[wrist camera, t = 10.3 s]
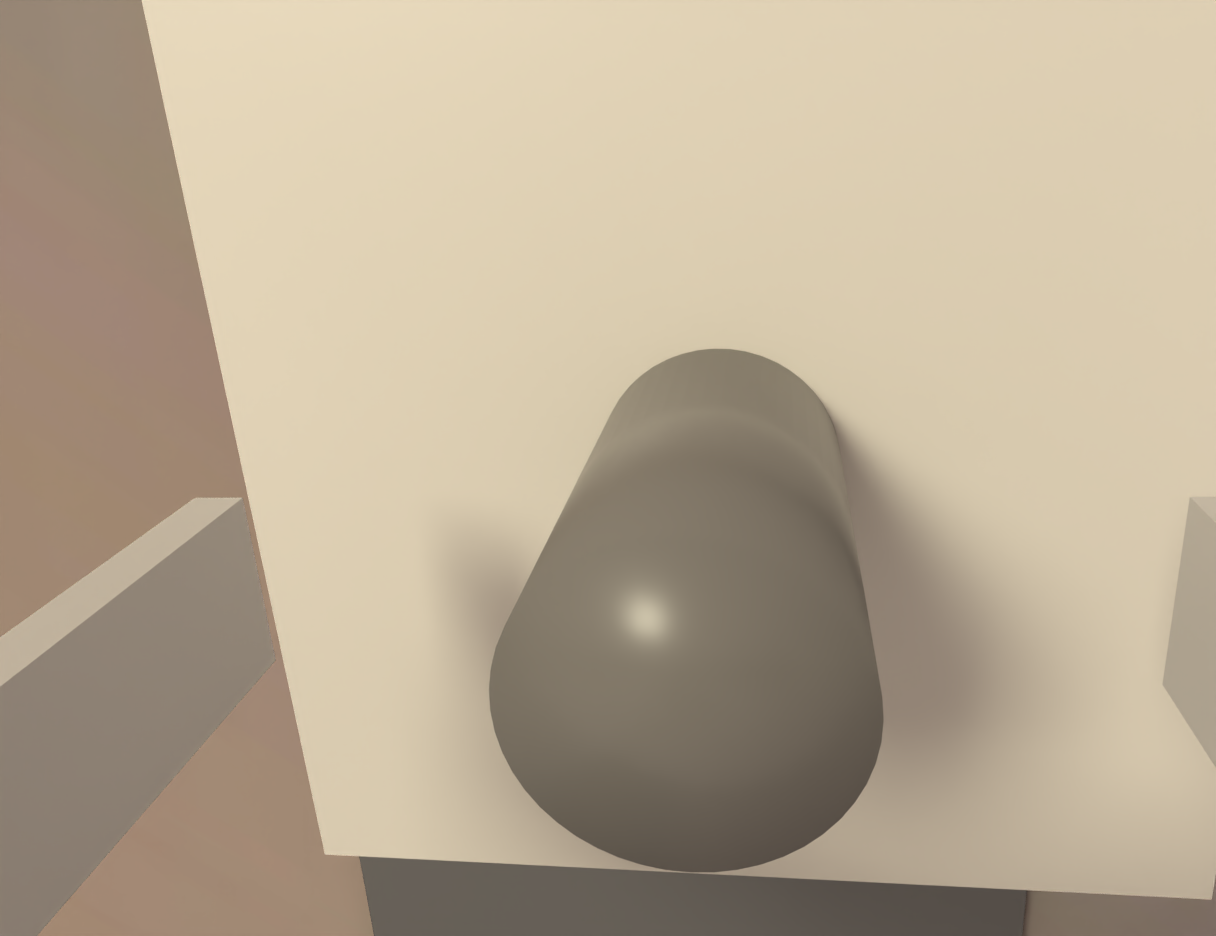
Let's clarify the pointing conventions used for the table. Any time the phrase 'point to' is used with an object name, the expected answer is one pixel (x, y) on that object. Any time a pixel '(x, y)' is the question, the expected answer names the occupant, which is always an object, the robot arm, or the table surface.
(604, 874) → the mat
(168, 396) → the table surface
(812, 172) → the lid
